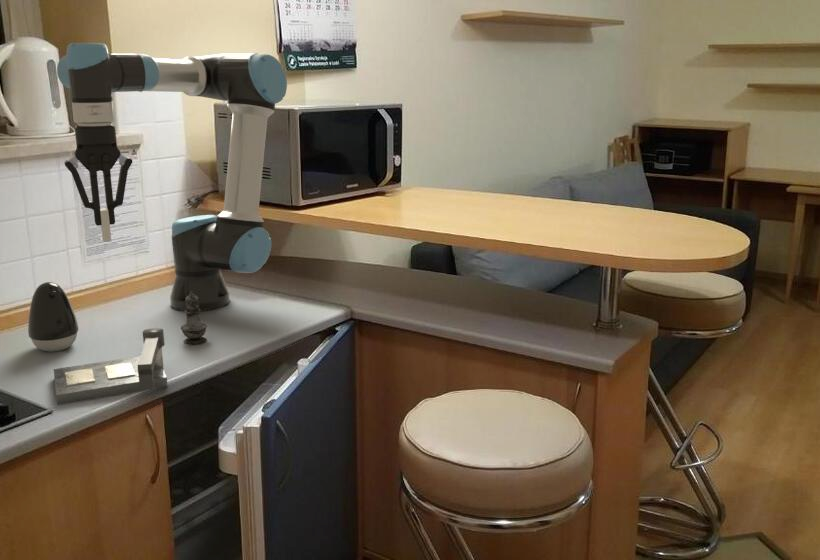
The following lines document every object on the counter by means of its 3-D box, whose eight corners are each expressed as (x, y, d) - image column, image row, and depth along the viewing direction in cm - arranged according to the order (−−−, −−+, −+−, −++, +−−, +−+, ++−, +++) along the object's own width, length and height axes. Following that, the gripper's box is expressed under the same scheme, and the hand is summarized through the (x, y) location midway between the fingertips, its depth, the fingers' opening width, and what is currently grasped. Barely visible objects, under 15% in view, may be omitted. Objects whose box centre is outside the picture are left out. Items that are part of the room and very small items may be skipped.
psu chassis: (158, 362, 168) (156, 335, 167) (169, 386, 156) (167, 356, 155) (54, 378, 160) (50, 349, 158) (57, 404, 148) (53, 374, 146)
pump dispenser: (36, 359, 170) (27, 292, 166) (26, 345, 178) (17, 281, 174) (85, 349, 176) (78, 284, 172) (73, 336, 184) (66, 273, 180)
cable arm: (146, 354, 162) (143, 328, 161) (166, 352, 163) (164, 327, 161) (135, 390, 144) (132, 362, 143) (158, 388, 145) (155, 361, 144)
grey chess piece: (181, 346, 178) (177, 295, 174) (181, 338, 183) (177, 288, 180) (208, 344, 179) (205, 293, 176) (207, 335, 185) (204, 286, 181)
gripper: (59, 126, 150) (74, 247, 157) (131, 124, 156) (142, 241, 162) (58, 123, 157) (71, 239, 163) (127, 121, 162) (137, 234, 168)
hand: (106, 240), depth 162 cm, fingers closed
